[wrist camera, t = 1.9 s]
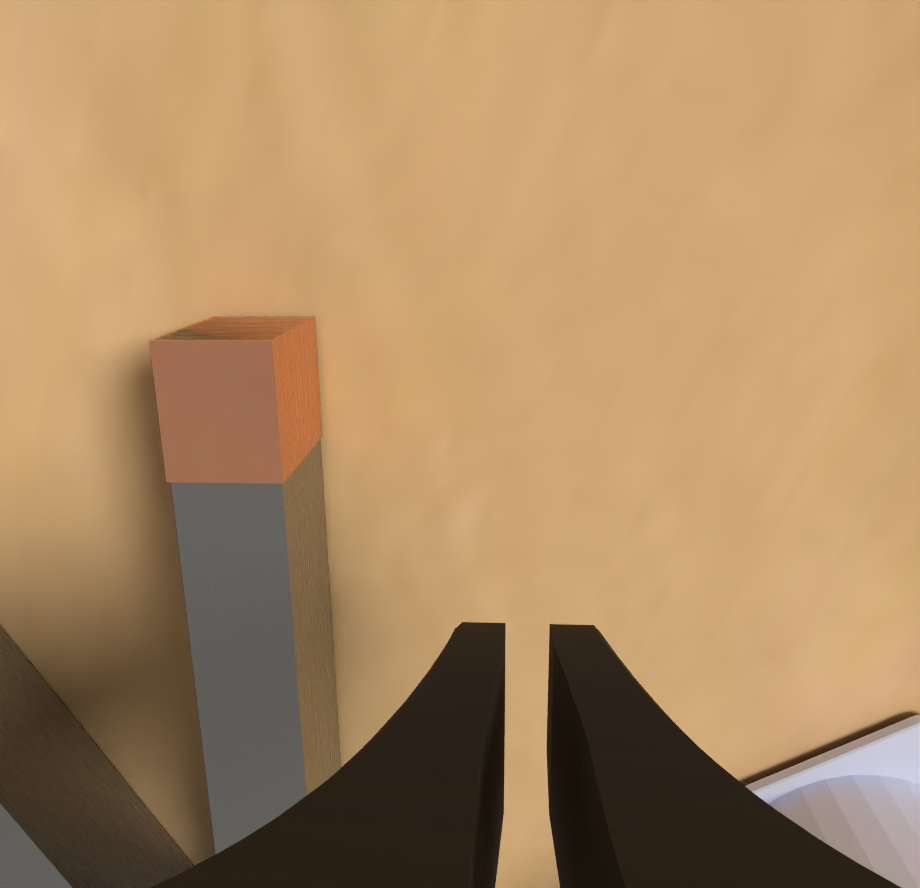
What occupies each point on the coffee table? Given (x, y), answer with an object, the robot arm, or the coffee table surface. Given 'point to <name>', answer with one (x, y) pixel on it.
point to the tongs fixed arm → (67, 798)
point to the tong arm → (252, 558)
